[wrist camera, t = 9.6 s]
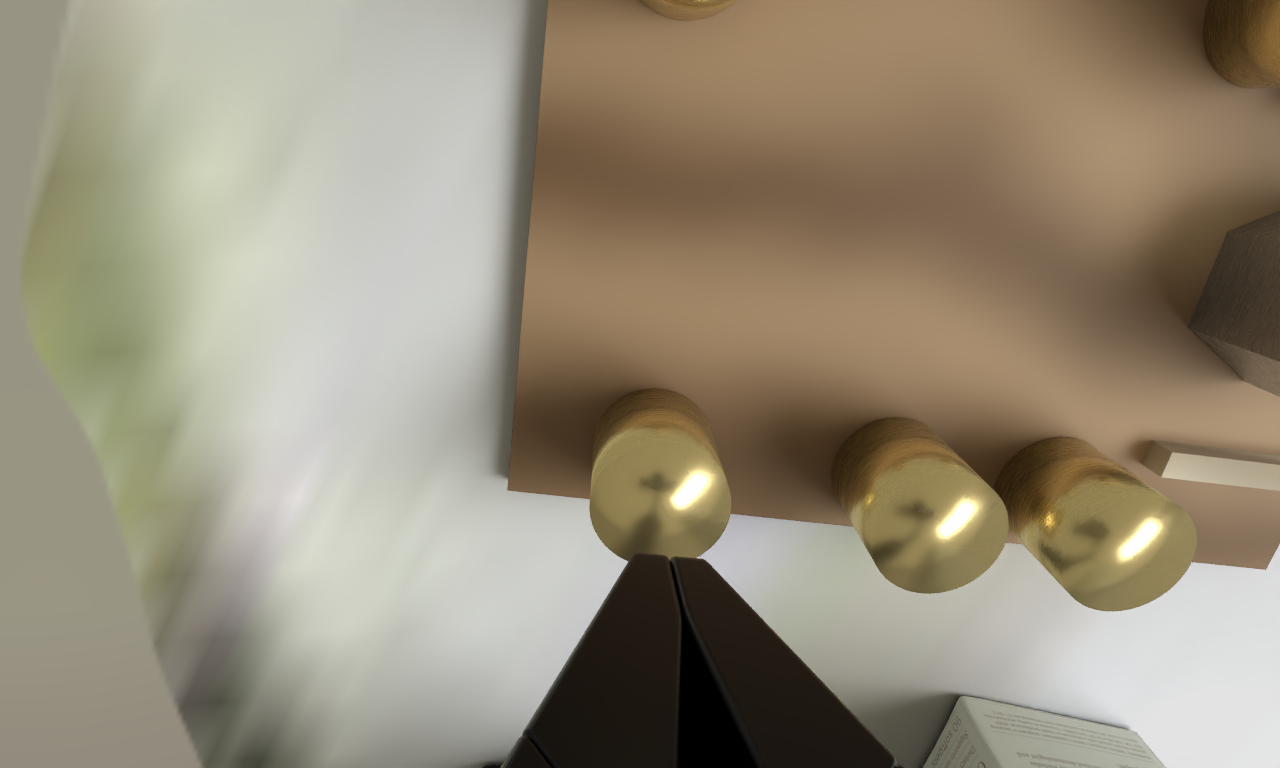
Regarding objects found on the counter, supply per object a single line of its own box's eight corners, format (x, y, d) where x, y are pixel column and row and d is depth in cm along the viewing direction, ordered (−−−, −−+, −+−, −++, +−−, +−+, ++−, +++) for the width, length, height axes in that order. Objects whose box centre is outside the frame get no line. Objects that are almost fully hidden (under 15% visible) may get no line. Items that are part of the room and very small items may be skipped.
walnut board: (1250, 558, 23) (1288, 585, 22) (510, 480, 21) (503, 504, 20) (1556, -32, 17) (1634, -44, 16) (568, -214, 15) (564, -245, 14)
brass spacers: (1113, 545, 22) (1199, 620, 19) (553, 486, 21) (541, 555, 17) (1377, -60, 16) (1568, -103, 13) (626, -198, 15) (630, -285, 12)
